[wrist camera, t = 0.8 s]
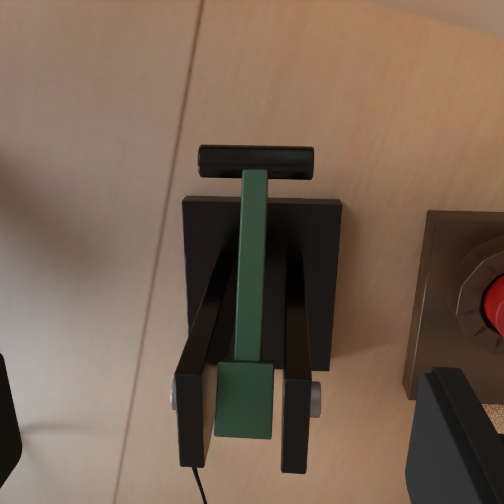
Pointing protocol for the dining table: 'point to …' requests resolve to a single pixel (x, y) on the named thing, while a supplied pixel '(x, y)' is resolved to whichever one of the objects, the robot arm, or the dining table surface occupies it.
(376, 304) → the dining table surface
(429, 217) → the button block
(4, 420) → the robot arm
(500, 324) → the button
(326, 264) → the bracket
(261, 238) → the lever
